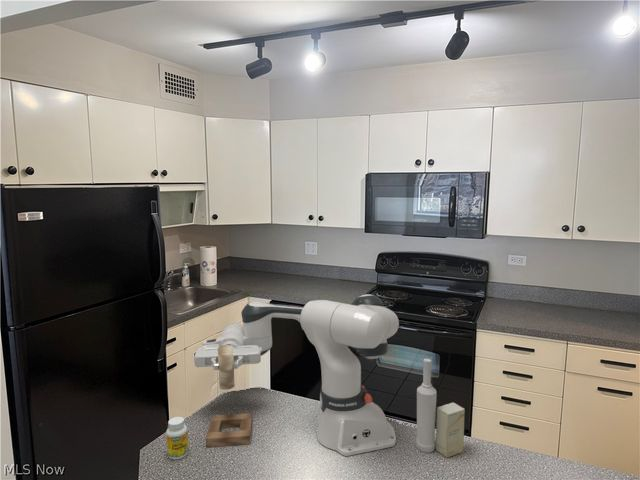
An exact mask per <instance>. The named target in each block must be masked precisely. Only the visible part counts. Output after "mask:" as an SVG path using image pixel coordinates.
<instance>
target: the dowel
mask: <svg viewBox="0 0 640 480" xmlns="http://www.w3.org/2000/svg"><path fill="white" fill-rule="evenodd" d="M233 363H234V361H233V346H231V345H223V346H220V347H218V365H219V370H218V382H219V383H218V385H219V389H221V390H226V391H228V390H231V389H233V388H234V387H235V369H233Z"/></svg>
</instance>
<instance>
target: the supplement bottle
mask: <svg viewBox="0 0 640 480" xmlns="http://www.w3.org/2000/svg"><path fill="white" fill-rule="evenodd" d="M167 424H168V425H167V429H166V431H165V432H166V434H165V435H166V447H167V457H168V458H169V459H171V460H180V459H182V458H184V457H186V456H187V455H188V453H189V452H190V451H189V435H188V434H189V433H188V427H187V425H186V424H185V418H184V417H182V416H174V417H172V418H170V419H169V420H168V422H167Z"/></svg>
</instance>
